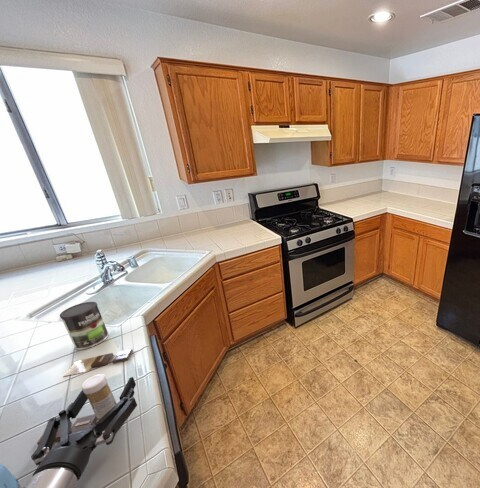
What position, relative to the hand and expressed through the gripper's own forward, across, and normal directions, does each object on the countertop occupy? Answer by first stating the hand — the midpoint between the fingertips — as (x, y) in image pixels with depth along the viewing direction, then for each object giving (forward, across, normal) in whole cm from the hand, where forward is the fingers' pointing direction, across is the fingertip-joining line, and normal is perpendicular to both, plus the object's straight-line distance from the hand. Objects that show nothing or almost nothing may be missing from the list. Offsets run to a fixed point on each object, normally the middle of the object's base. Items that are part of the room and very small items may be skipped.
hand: (110, 386), depth 70 cm
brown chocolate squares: (-4, -9, -7) cm, 12 cm away
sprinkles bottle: (-4, 0, -7) cm, 8 cm away
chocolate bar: (+22, -14, -7) cm, 27 cm away
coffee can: (+37, -23, -7) cm, 44 cm away
